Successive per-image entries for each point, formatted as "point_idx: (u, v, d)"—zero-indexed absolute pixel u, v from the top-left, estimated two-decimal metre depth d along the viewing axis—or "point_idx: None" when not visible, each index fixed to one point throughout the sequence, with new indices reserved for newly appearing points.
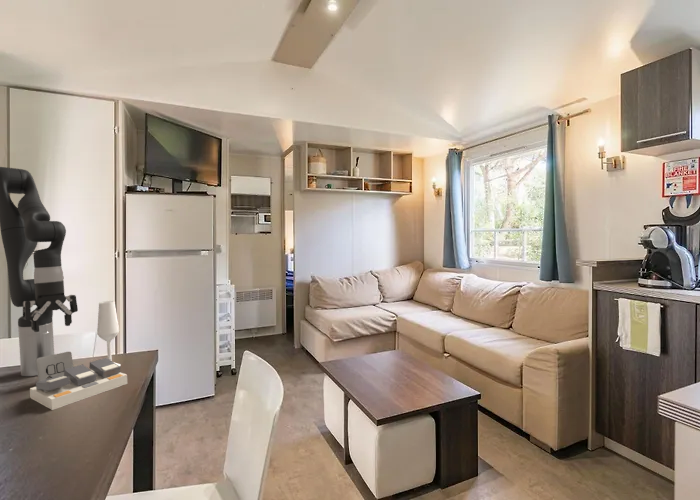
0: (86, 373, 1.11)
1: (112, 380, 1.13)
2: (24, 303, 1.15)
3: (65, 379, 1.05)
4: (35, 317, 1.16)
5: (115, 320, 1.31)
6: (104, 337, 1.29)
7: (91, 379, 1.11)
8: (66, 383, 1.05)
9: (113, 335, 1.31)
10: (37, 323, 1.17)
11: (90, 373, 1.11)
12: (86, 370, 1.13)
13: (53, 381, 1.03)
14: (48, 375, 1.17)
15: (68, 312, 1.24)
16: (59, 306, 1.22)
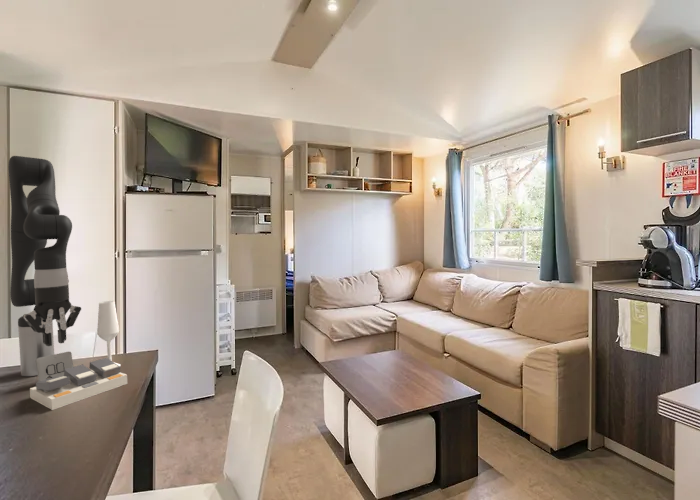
0: (86, 373, 1.11)
1: (112, 380, 1.13)
2: (25, 318, 0.98)
3: (65, 379, 1.05)
4: (47, 329, 1.02)
5: (115, 320, 1.31)
6: (104, 337, 1.29)
7: (91, 379, 1.11)
8: (66, 383, 1.05)
9: (113, 335, 1.31)
10: (50, 336, 1.02)
11: (90, 373, 1.11)
12: (86, 370, 1.13)
13: (53, 381, 1.03)
14: (48, 375, 1.17)
15: (62, 327, 1.05)
16: (59, 315, 1.04)
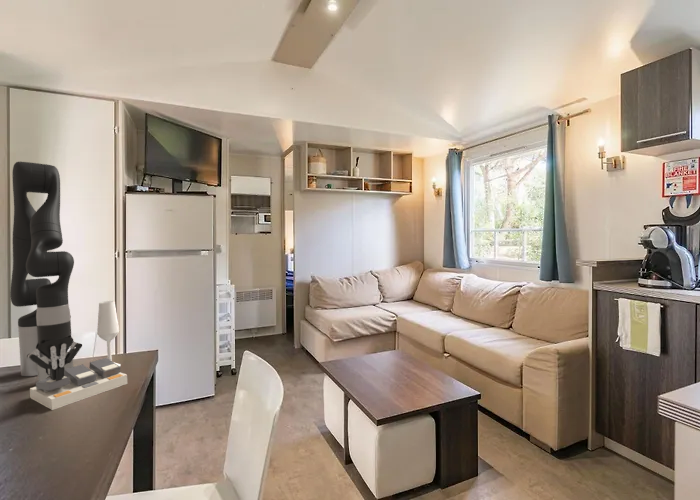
0: (86, 373, 1.11)
1: (112, 380, 1.13)
2: (29, 358, 0.99)
3: (65, 379, 1.05)
4: (55, 365, 1.03)
5: (115, 320, 1.31)
6: (104, 337, 1.29)
7: (91, 379, 1.11)
8: (66, 383, 1.05)
9: (113, 335, 1.31)
10: (57, 372, 1.03)
11: (90, 373, 1.11)
12: (86, 370, 1.13)
13: (53, 381, 1.03)
14: (48, 375, 1.17)
15: (60, 364, 1.04)
16: (60, 351, 1.04)
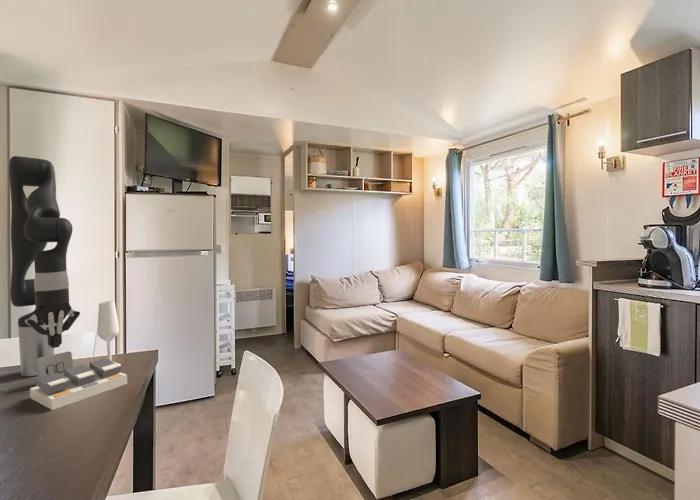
0: (86, 373, 1.11)
1: (112, 380, 1.13)
2: (27, 323, 0.98)
3: (66, 383, 1.05)
4: (52, 331, 1.03)
5: (115, 320, 1.31)
6: (104, 337, 1.29)
7: (91, 379, 1.11)
8: (66, 387, 1.05)
9: (113, 335, 1.31)
10: (54, 338, 1.03)
11: (90, 373, 1.11)
12: (86, 370, 1.13)
13: (54, 385, 1.03)
14: None
15: (57, 331, 1.04)
16: (57, 318, 1.03)
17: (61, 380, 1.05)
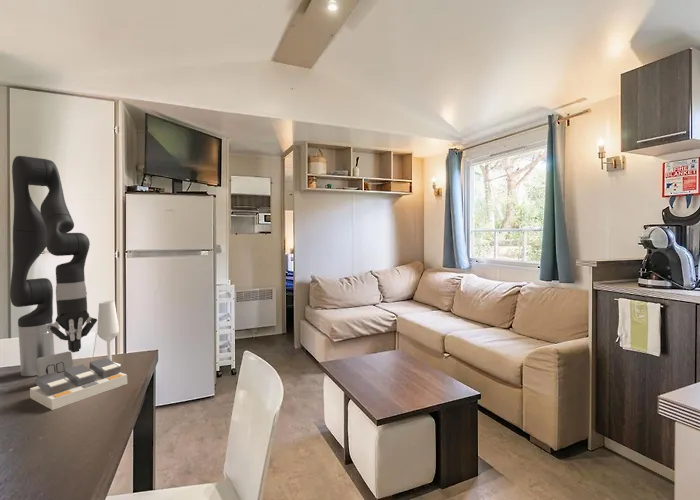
0: (86, 373, 1.11)
1: (112, 380, 1.13)
2: (50, 329, 1.08)
3: (66, 384, 1.05)
4: (72, 337, 1.12)
5: (115, 320, 1.31)
6: (104, 337, 1.29)
7: (91, 379, 1.11)
8: (66, 388, 1.05)
9: (113, 335, 1.31)
10: (74, 343, 1.12)
11: (90, 373, 1.11)
12: (86, 370, 1.13)
13: (54, 386, 1.03)
14: None
15: (77, 337, 1.13)
16: (77, 325, 1.13)
17: (61, 381, 1.05)
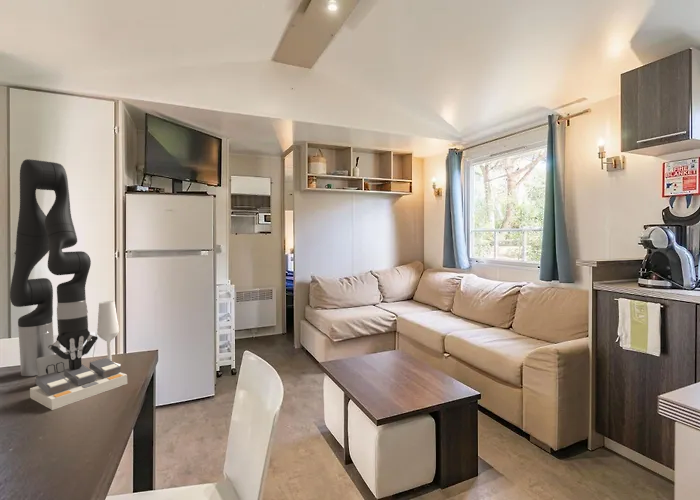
0: (86, 373, 1.11)
1: (112, 380, 1.13)
2: (51, 349, 1.08)
3: (66, 384, 1.05)
4: (73, 356, 1.12)
5: (115, 320, 1.31)
6: (104, 337, 1.29)
7: (91, 379, 1.11)
8: (66, 388, 1.05)
9: (113, 335, 1.31)
10: (75, 362, 1.13)
11: (90, 373, 1.11)
12: (86, 370, 1.13)
13: (54, 386, 1.03)
14: None
15: (78, 355, 1.13)
16: (78, 343, 1.13)
17: (61, 381, 1.05)
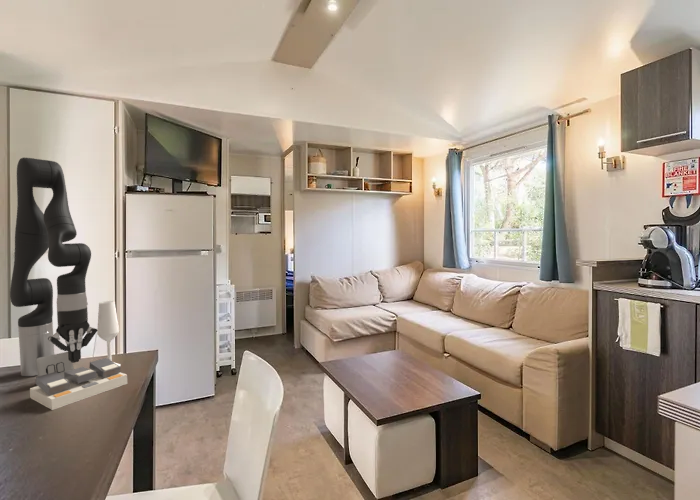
0: (86, 371, 1.11)
1: (112, 380, 1.13)
2: (50, 340, 1.08)
3: (66, 384, 1.05)
4: (73, 347, 1.12)
5: (115, 320, 1.31)
6: (104, 337, 1.29)
7: (91, 376, 1.11)
8: (66, 388, 1.05)
9: (113, 335, 1.31)
10: (74, 354, 1.13)
11: (90, 371, 1.11)
12: (86, 370, 1.13)
13: (54, 387, 1.03)
14: None
15: (77, 347, 1.13)
16: (77, 335, 1.13)
17: (61, 381, 1.05)
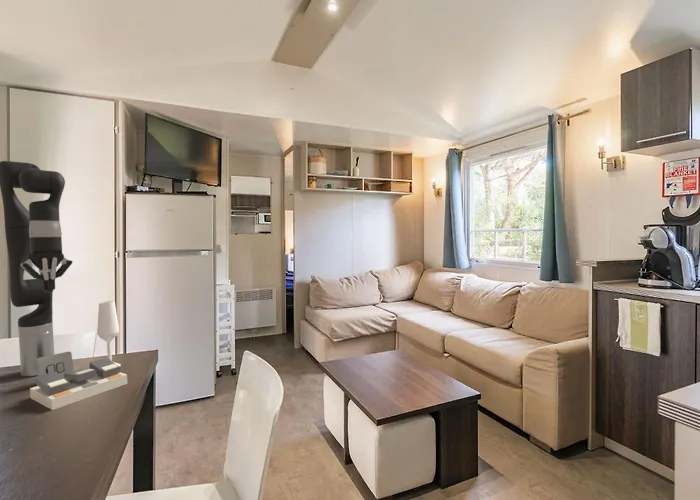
0: (85, 370, 1.11)
1: (112, 380, 1.13)
2: (22, 266, 1.06)
3: (66, 385, 1.05)
4: (46, 276, 1.10)
5: (115, 320, 1.31)
6: (104, 337, 1.29)
7: (91, 374, 1.11)
8: (66, 388, 1.05)
9: (113, 335, 1.31)
10: (48, 283, 1.11)
11: (89, 369, 1.11)
12: (86, 370, 1.13)
13: (54, 387, 1.03)
14: None
15: (51, 276, 1.11)
16: (51, 264, 1.11)
17: (61, 381, 1.05)
